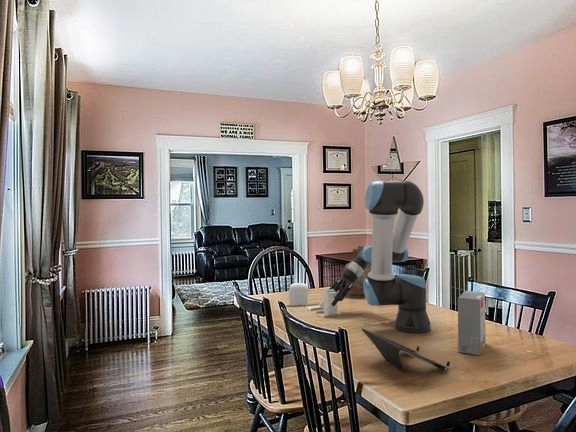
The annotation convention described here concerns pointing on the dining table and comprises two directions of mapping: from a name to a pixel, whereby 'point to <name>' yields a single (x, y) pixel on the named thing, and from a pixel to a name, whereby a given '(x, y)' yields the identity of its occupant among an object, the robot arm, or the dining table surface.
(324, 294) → the white rectangular box
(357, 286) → the jug
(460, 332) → the hard drive box
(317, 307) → the dock board
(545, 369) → the dining table surface
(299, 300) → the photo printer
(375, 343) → the portable electronic device stand
